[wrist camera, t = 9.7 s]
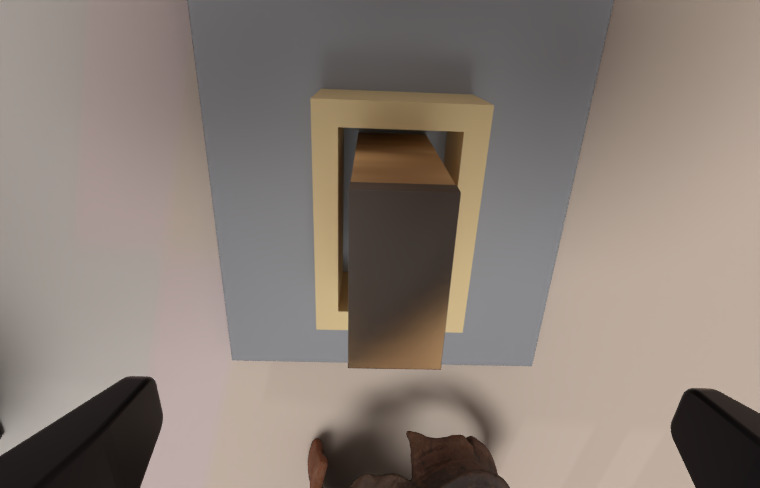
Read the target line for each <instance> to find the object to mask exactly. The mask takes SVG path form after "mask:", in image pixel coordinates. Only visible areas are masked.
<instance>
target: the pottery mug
mask: <svg viewBox="0 0 760 488" xmlns="http://www.w3.org/2000/svg"><path fill="white" fill-rule="evenodd" d="M406 435H407V437H408V439H409V442H410V448H411V463H412V480H408V479H406V478H404V477H402V476H401V475H398V474H384V475H372V474H364V475H361V476H360V477H359V478H358V479H357V480H355V481H354V482H353V483H352V485H351V488H510V487H509V486H508V484H507V483H506V481H505V480H504V479H503V478H501V477H500V476H499V475H498V474H497V470H496V466H495V463H494V460H493V458H492V455H491V453H490V452H489V450H488V449H487V447H486V446H485V445H484V444H483V443H481V442H480V441H479V440H477V439H476V438H475V437H473V436H469V437H467V438H465V437H464V436H463V435H451V436H448V437H442V438H430V437H426V436H424V435H422V434H420V433H417V432H412V431H407V433H406ZM327 467H328V461H327V459H326V457H325V456H324V455H323V447H322V443H321V440H319V439H315V440H314V441H313V442H312V446H311V448H310V452H309V458H308V474H309V480H310V488H323V482H324V478H325V474H326V470H327Z"/></svg>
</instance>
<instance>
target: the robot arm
mask: <svg viewBox="0 0 760 488" xmlns="http://www.w3.org/2000/svg"><path fill="white" fill-rule="evenodd" d="M162 421H163V413H162V408H161V403H160V399H159V394H158V390H157V385H156V382H155V380H154V379H153V378H151V377H143V376H130V377H125V378H123V379H122V380H120V381H118V382H117V383H115V384H114V385H112V386H110V387H109V388H107V389H106V390H104V391H103V392H101V393H99V394H98V395H96V396H95V397H93V398H91V399H90V400H88V401H87V402H85V403H84V404H82V405H80V406H79V407H77V408H76V409H74V410H72V411H71V412H69V413H68V414H66V415H65V416H63V417H61V418H60V419H58V420H57V421H55V422H53V423H52V424H50V425H49V426H47V427H46V428H44V429H42V430H41V431H39V432H38V433H36V434H34V435H33V436H31V437H30V438H28V439H27V440H25V441H23V442H22V443H20V444H19V445H17V446H15V447H14V448H12V449H11V450H9V451H8V452H6V453H4V454H3V455H1V456H0V488H140V486H141V484H142V481H143V478H144V475H145V472H146V469H147V467H148V464H149V461H150V458H151V455H152V453H153V450H154V447H155V444H156V441H157V439H158V436H159V433H160V430H161V427H162ZM671 434H672V437H673V440H674V442H675V444H676V446H677V449H678V451H679V453H680V455H681V457H682V459H683V461H684V464H685V466H686V468H687V470H688V472H689V474H690V476H691V479H692V481H693V483H694V485H695V487H696V488H760V413H758V412H756V411H754V410H752V409H750V408H749V407H747V406H745V405H743V404H741V403H739V402H738V401H736V400H734V399H732V398H730V397H728V396H727V395H725V394H723V393H721V392H719V391H717V390H714V389H706V388H691V389H688V390H687V391H685V392H684V394H683V396H682V398H681V400H680V403H679V405H678V408H677V410H676V412H675V415H674V417H673V419H672V422H671ZM1 437H2V433H1V431H0V439H1Z"/></svg>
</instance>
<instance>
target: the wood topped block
mask: <svg viewBox="0 0 760 488" xmlns="http://www.w3.org/2000/svg"><path fill="white" fill-rule="evenodd" d="M460 197H461V192H460V190H459V188H458V187H457V185H455V183H454V181H453V179H452V178H451V176H450V174H449V173H448V171H447V169H446V168H445V166H444V164H443V162H442V161H441V159H440V157H439V156H438V154H437V152H436V151H435V149H434V147H433V145H432V144H431V142H430V140H429V139H428V137H427V135H421V134H390V133H358V138H357V144H356V151H355V157H354V164H353V170H352V177H351V182H350V186H349V272H348V368H373V369H433V370H441V363H442V355H443V346H444V337H445V328H446V320H447V311H448V302H449V293H450V285H451V276H452V267H453V258H454V250H455V241H456V232H457V224H458V215H459V206H460Z"/></svg>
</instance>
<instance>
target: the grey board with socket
mask: <svg viewBox="0 0 760 488" xmlns="http://www.w3.org/2000/svg"><path fill="white" fill-rule="evenodd" d="M613 3H614V0H188V8H189V16H190V24H191V32H192V40H193V48H194V56H195V64H196V73H197V81H198V89H199V97H200V105H201V113H202V121H203V129H204V137H205V145H206V153H207V161H208V169H209V177H210V185H211V193H212V202H213V210H214V218H215V226H216V234H217V242H218V250H219V258H220V266H221V274H222V282H223V290H224V298H225V306H226V314H227V322H228V331H229V339H230V347H231V355H232V360H244V361H294V362H345V363H348V272H349V186H350V182H351V177H352V170H353V164H354V157H355V151H356V144H357V138H358V133H390V134H421V135H427V137H428V139H429V140H430V142H431V144H432V145H433V147H434V149H435V151H436V152H437V154H438V156H439V157H440V159H441V161H442V162H443V164H444V166H445V168H446V169H447V171H448V173H449V174H450V176H451V178H452V179H453V181H454V183H455V185H457V187H458V188H459V190H460V192H461V197H460V206H459V215H458V224H457V232H456V241H455V250H454V258H453V267H452V276H451V285H450V293H449V302H448V311H447V320H446V328H445V337H444V346H443V355H442V363H441V364H445V365H496V366H532V363H533V359H534V354H535V350H536V346H537V341H538V337H539V332H540V328H541V323H542V319H543V314H544V310H545V306H546V301H547V297H548V292H549V288H550V283H551V279H552V274H553V270H554V265H555V261H556V257H557V252H558V248H559V243H560V239H561V234H562V230H563V225H564V221H565V217H566V212H567V208H568V203H569V199H570V194H571V190H572V185H573V181H574V176H575V172H576V168H577V163H578V159H579V154H580V150H581V145H582V141H583V136H584V132H585V128H586V123H587V119H588V114H589V110H590V105H591V101H592V96H593V92H594V87H595V83H596V79H597V74H598V70H599V65H600V61H601V56H602V52H603V47H604V43H605V39H606V34H607V30H608V25H609V21H610V16H611V12H612V7H613Z"/></svg>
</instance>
